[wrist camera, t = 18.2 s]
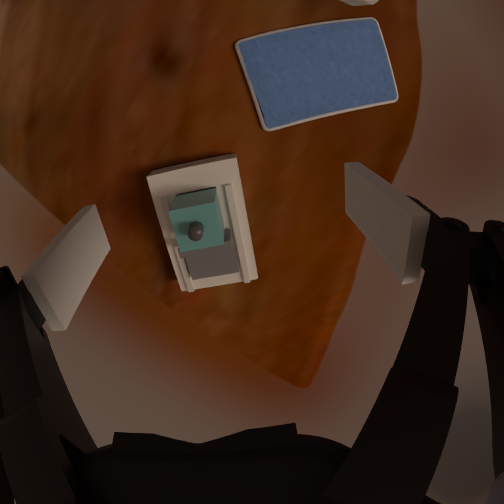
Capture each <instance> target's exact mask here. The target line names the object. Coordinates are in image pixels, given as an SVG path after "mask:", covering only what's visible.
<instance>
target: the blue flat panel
mask: <svg viewBox="0 0 504 504" xmlns="http://www.w3.org/2000/svg"><path fill="white" fill-rule="evenodd" d="M235 50H236V52H237V55H238V57H239V60H240V63H241V66H242V69H243V72H244V75H245V77H246V80H247V83H248V86H249V89H250V92H251V95H252V98H253V101H254V104H255V107H256V110H257V113H258V117H259V120H260V123H261V126H262V128H263V129H264V130H266V131H273V130H277V129H281V128H284V127H288V126H291V125H295V124H299V123H303V122H306V121H310V120H314V119H318V118H322V117H327V116H331V115H335V114H340V113H344V112H349V111H353V110H358V109H363V108H368V107H372V106H378V105H383V104H388V103H393V102H396V101H397V99H398V92H397V88H396V83H395V79H394V75H393V71H392V67H391V64H390V60H389V56H388V53H387V49H386V46H385V43H384V39H383V36H382V33H381V30H380V27H379V24H378V22H377V20H376V19H374V18H372V17H366V18H352V19H342V20H333V21H326V22H319V23H312V24H306V25H301V26H295V27H290V28H285V29H279V30H275V31H270V32H266V33H263V34H258V35H255V36H251V37H248V38H244V39H241V40H239V41H237V42H236V43H235Z"/></svg>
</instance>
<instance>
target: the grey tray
mask: <svg viewBox="0 0 504 504" xmlns="http://www.w3.org/2000/svg"><path fill="white" fill-rule="evenodd" d="M147 181H148V185H149V188H150V192H151V195H152V199H153V202H154V206H155V209H156V213H157V216H158V220H159V223H160V226H161V229H162V233H163V236H164V239H165V242H166V245H167V249H168V252H169V255H170V258H171V261H172V264H173V267H174V270H175V273H176V276H177V279H178V282H179V285H180V288H181V290H182V291H187V290H188V291H189V292H193V291H194V289H200V288H206V287H212V286H218V285H224V284H230V283H236V282H242V281H244V282H245V283H249V282H250V280H254V279H258V275H257V268H256V263H255V257H254V252H253V246H252V241H251V235H250V229H249V224H248V218H247V213H246V207H245V202H244V196H243V191H242V185H241V180H240V174H239V169H238V163H237V158H236V153H233V154H228V155H223V156H217V157H212V158H207V159H202V160H197V161H193V162H188V163H184V164H179V165H175V166H170V167H166V168H162V169H158V170H154V171H152V172H151V173H150V174H149V175H148V176H147ZM213 188H217V193H218V198H219V203H220V207H221V212H222V217H223V221H224V229H231V234H232V239H233V243H234V248H235V253H236V257H237V262H238V267H239V272H238V273H232V274H226V275H220V276H214V277H208V278H202V279H196V280H192V278H191V274H190V271H189V268H188V265H187V261H186V258H181V259H180V256H179V253H178V247H179V246H178V243H177V240H176V236H175V233H174V230H173V226H172V223H171V219H170V216H169V212H168V211H169V209H170V207H171V205H172V203H173V201H174V199H175V197H176V196H179V195H183V194H188V193H193V192H198V191H203V190H208V189H213Z"/></svg>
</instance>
